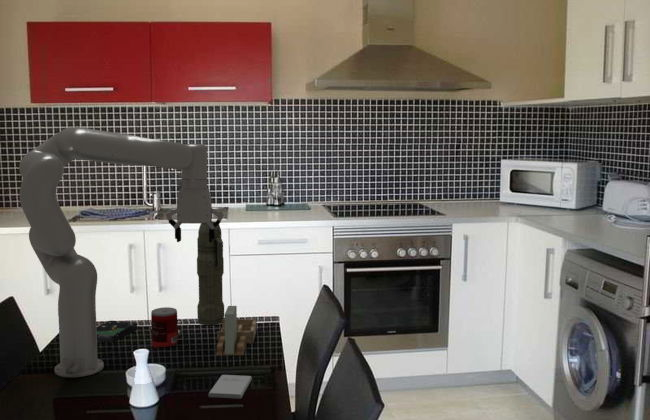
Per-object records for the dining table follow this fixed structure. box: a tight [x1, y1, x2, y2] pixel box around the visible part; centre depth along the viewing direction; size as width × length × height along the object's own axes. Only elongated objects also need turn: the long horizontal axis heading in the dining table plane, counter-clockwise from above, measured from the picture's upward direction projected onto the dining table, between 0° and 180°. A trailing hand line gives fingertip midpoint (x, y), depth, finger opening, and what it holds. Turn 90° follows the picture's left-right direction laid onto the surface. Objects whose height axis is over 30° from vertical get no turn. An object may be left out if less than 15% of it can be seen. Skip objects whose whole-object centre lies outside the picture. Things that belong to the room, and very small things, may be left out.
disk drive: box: [96, 320, 138, 344], centre depth 208 cm, size 10×3×15 cm
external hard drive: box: [208, 374, 253, 400], centre depth 165 cm, size 2×8×12 cm
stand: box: [215, 336, 247, 356], centre depth 191 cm, size 10×8×4 cm
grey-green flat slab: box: [224, 305, 238, 354], centre depth 191 cm, size 9×2×12 cm, turn 2°
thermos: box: [196, 221, 225, 326], centre depth 217 cm, size 9×12×35 cm
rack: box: [216, 318, 258, 345], centre depth 204 cm, size 14×11×4 cm
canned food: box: [150, 306, 179, 349], centre depth 196 cm, size 8×8×11 cm
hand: (194, 241), depth 195 cm, fingers open, 9 cm apart
